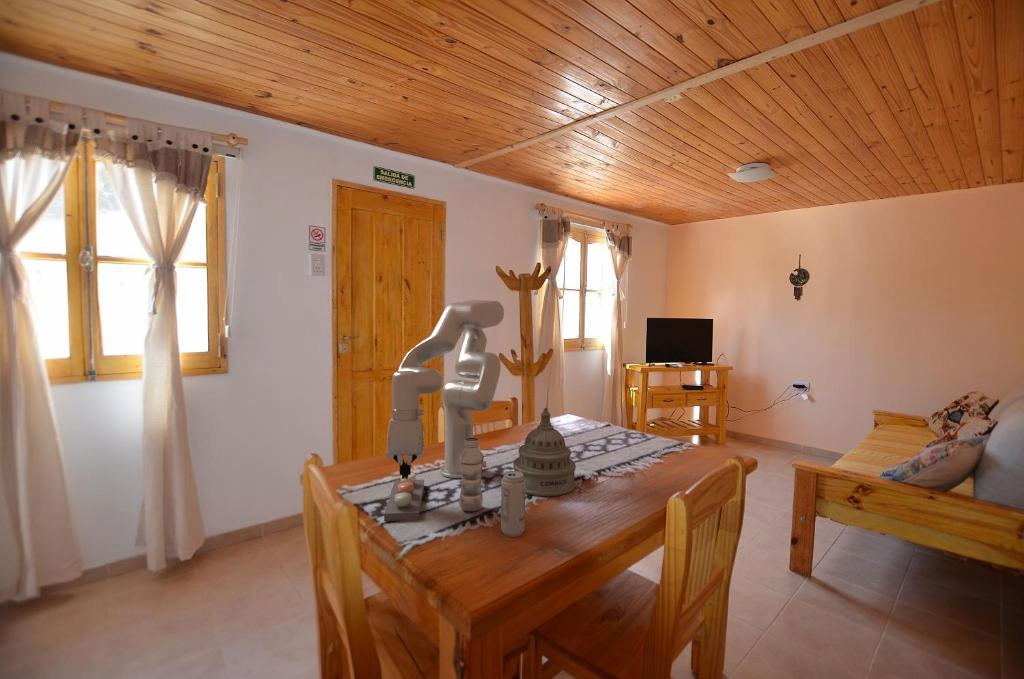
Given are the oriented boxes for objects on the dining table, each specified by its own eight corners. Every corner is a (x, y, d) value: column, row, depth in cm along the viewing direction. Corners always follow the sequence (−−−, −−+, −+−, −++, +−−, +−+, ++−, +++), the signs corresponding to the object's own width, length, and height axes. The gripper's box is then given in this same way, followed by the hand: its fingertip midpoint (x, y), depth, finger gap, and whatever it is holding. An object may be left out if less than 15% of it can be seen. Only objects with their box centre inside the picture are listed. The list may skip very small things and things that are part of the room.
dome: (506, 412, 140) (522, 399, 159) (504, 492, 142) (521, 470, 161) (572, 417, 134) (581, 403, 154) (570, 501, 136) (579, 476, 156)
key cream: (416, 478, 144) (416, 472, 143) (415, 484, 139) (415, 477, 139) (401, 479, 143) (401, 473, 143) (400, 484, 139) (400, 478, 138)
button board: (424, 485, 146) (424, 479, 146) (418, 519, 123) (418, 512, 123) (394, 486, 145) (394, 480, 145) (384, 521, 122) (384, 513, 122)
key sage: (412, 499, 129) (412, 492, 129) (410, 506, 124) (410, 498, 124) (395, 499, 128) (395, 492, 128) (393, 506, 124) (393, 499, 124)
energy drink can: (525, 537, 115) (526, 478, 113) (501, 538, 114) (502, 479, 113) (523, 526, 120) (524, 470, 119) (500, 526, 120) (500, 470, 119)
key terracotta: (414, 488, 136) (414, 481, 136) (413, 494, 132) (413, 487, 132) (398, 489, 136) (398, 482, 135) (397, 495, 131) (397, 488, 131)
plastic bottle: (460, 503, 133) (461, 435, 132) (484, 504, 133) (484, 436, 131) (457, 514, 127) (457, 442, 125) (481, 514, 127) (482, 443, 125)
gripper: (432, 411, 136) (432, 472, 138) (380, 411, 135) (380, 473, 136) (431, 417, 129) (430, 481, 130) (376, 417, 127) (376, 483, 128)
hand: (405, 477), depth 133 cm, fingers closed
